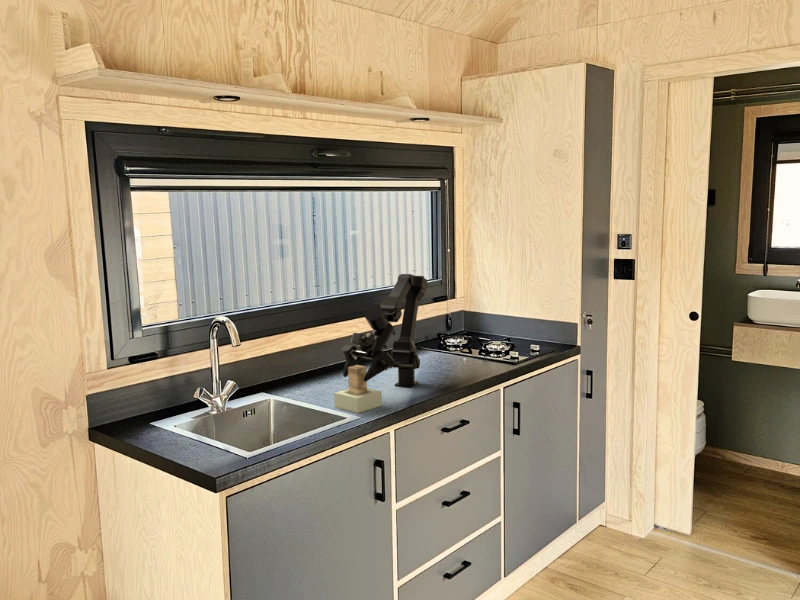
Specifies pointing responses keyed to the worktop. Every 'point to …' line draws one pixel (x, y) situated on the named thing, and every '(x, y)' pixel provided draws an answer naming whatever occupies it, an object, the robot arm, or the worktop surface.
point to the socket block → (358, 400)
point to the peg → (357, 380)
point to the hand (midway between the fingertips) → (354, 378)
